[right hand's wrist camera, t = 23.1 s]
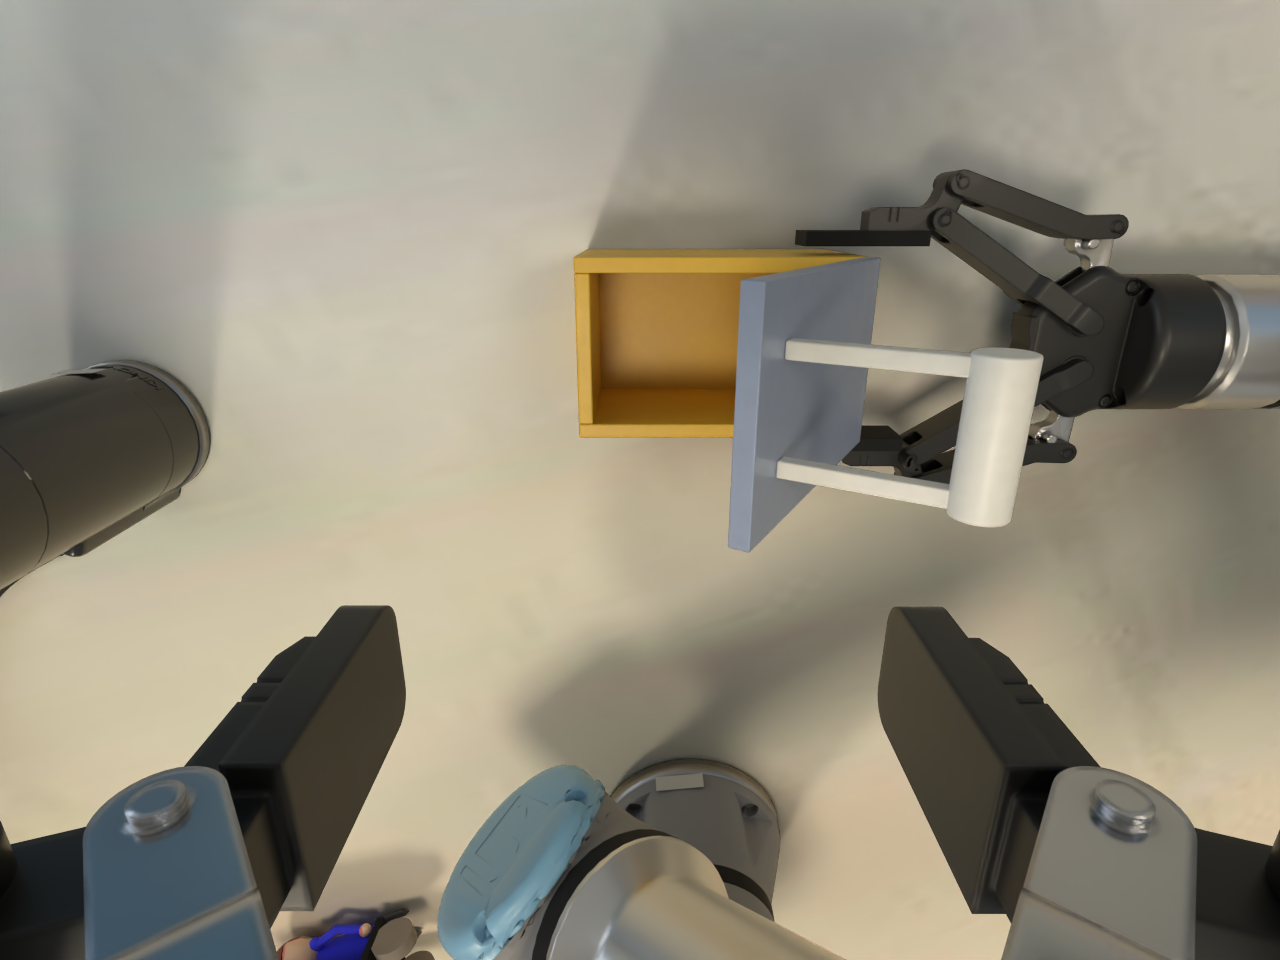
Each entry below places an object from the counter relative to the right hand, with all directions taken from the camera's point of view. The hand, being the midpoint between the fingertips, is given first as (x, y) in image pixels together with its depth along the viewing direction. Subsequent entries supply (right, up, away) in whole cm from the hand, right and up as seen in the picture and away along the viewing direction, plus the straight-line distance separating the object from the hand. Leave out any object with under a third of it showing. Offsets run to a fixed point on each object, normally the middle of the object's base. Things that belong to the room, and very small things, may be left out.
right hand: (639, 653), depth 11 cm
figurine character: (-26, -39, +54) cm, 72 cm away
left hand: (+9, +11, +29) cm, 32 cm away
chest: (+4, +13, +35) cm, 37 cm away
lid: (+7, +7, +19) cm, 22 cm away
